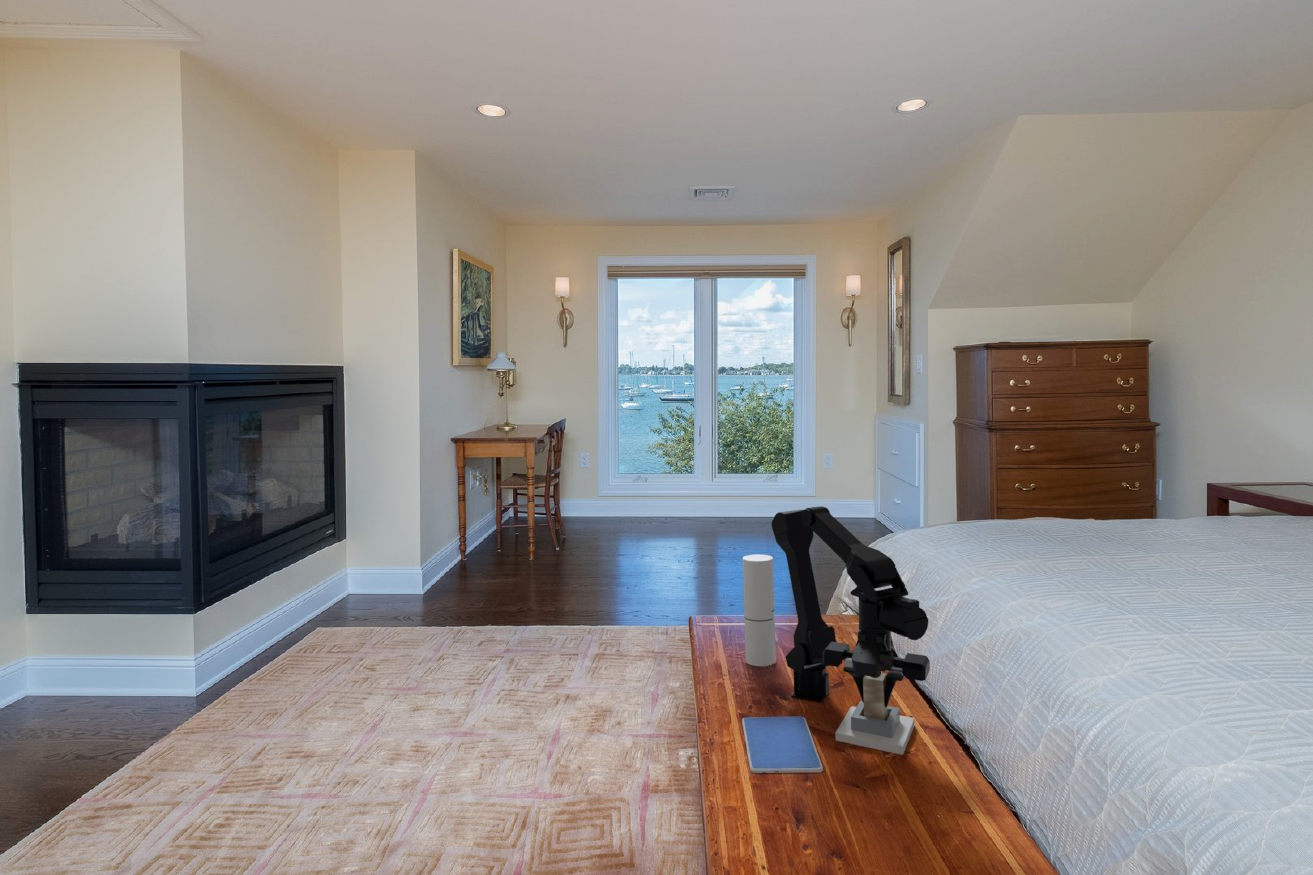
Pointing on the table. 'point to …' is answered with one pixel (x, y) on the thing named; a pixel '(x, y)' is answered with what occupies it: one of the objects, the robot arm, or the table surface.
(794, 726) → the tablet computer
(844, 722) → the socket board
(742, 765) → the table surface
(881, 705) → the peg
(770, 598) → the cylindrical container
